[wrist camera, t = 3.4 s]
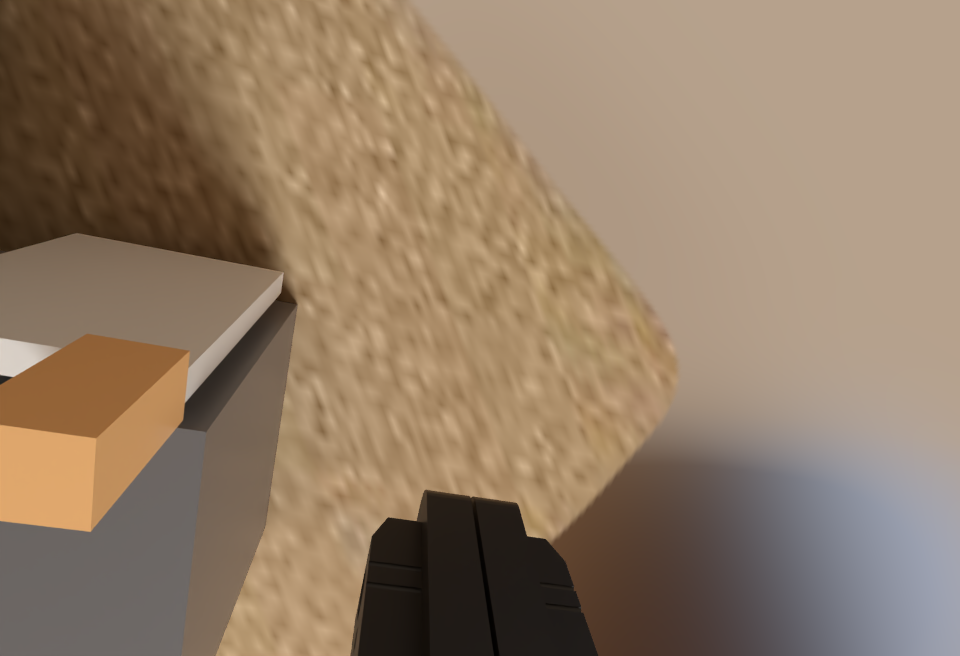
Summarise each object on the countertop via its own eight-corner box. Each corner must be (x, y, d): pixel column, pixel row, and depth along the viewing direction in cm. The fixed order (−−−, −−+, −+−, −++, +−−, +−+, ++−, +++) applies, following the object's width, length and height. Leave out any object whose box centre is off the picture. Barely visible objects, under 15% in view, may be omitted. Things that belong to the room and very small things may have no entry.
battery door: (77, 221, 21) (-482, 356, 8) (285, 261, 22) (95, 438, 9) (75, 266, 22) (-461, 466, 8) (279, 303, 23) (90, 531, 10)
